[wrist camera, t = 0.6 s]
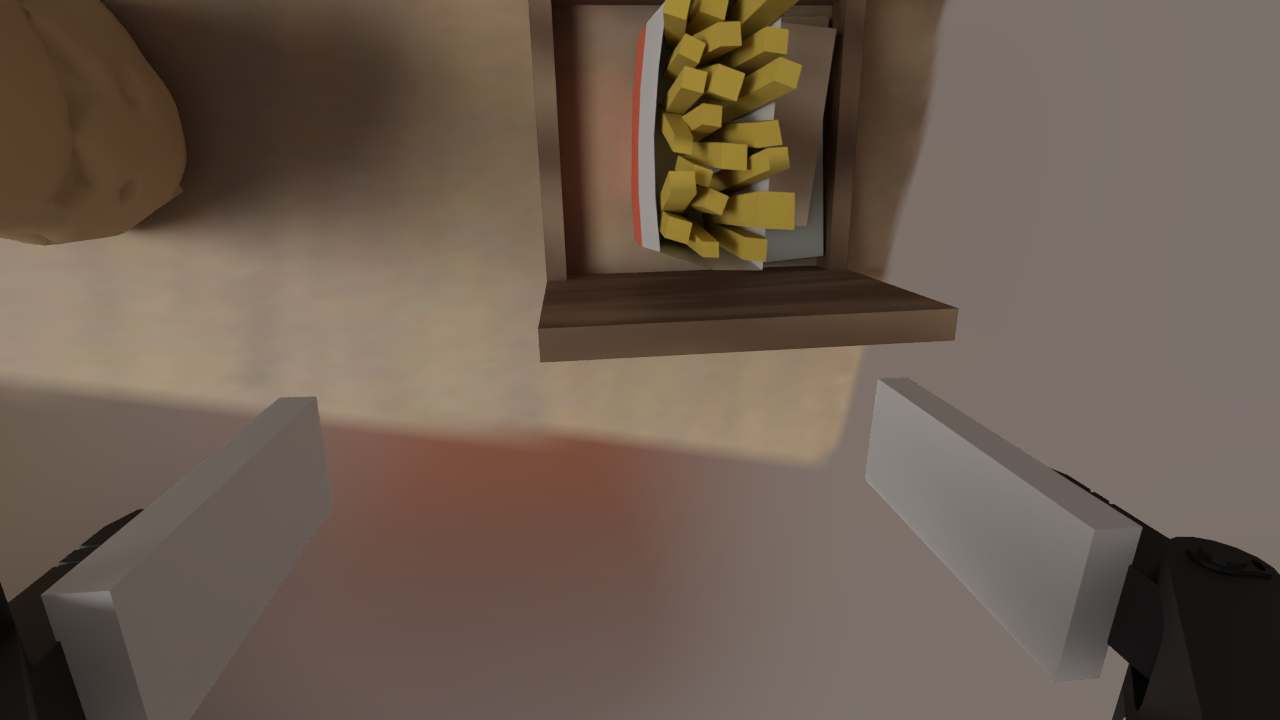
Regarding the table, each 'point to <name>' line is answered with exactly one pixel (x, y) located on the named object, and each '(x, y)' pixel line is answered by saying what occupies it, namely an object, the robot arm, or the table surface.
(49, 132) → the container
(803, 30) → the offcut rack
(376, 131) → the table surface
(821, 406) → the table surface
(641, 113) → the french fries container
